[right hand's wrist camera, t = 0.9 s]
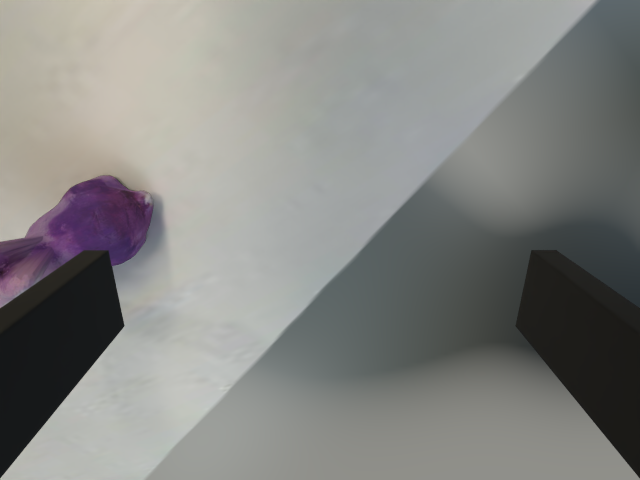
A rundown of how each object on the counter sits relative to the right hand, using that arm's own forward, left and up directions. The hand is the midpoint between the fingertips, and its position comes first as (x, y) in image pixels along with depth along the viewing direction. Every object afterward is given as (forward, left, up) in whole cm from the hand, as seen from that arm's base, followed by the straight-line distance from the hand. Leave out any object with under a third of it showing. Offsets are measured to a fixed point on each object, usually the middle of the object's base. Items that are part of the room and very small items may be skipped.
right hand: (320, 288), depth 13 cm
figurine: (+8, -21, -27) cm, 35 cm away
